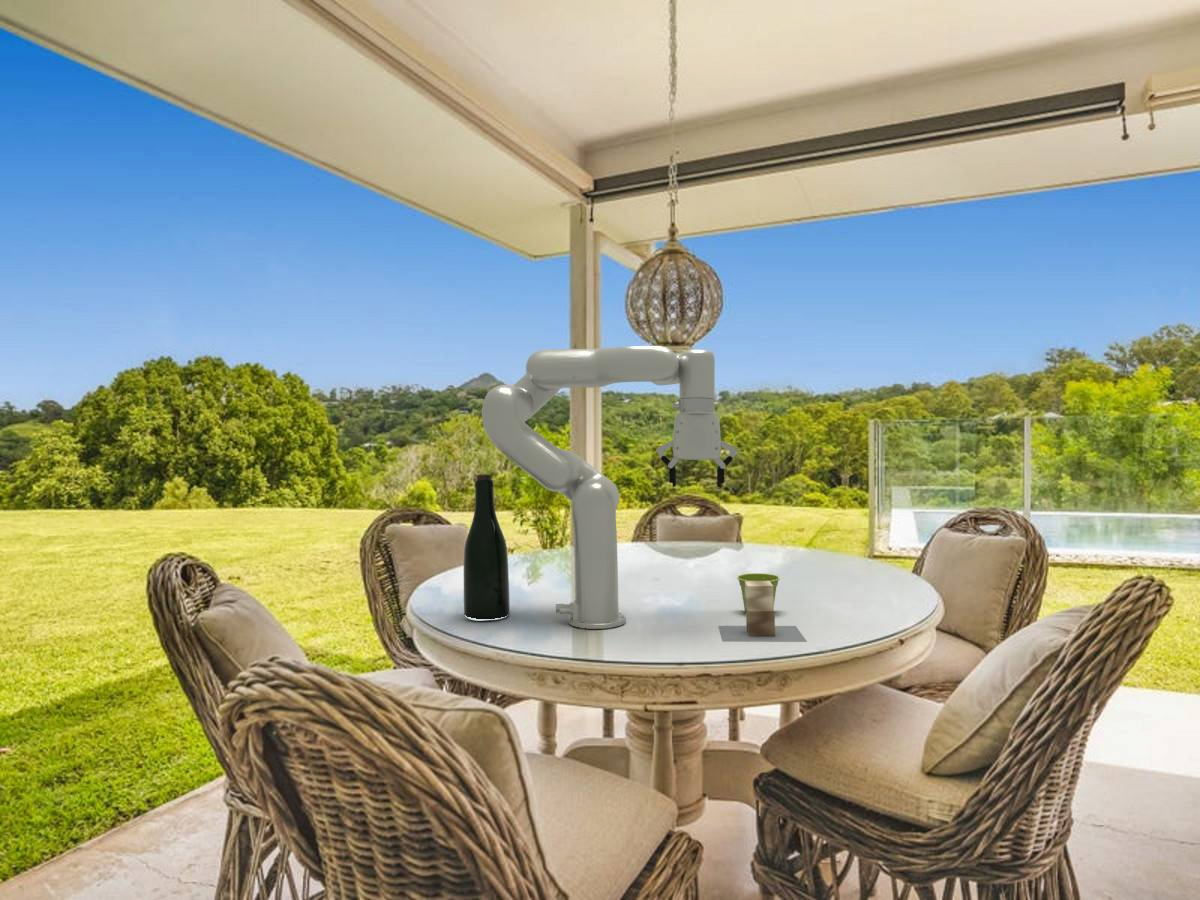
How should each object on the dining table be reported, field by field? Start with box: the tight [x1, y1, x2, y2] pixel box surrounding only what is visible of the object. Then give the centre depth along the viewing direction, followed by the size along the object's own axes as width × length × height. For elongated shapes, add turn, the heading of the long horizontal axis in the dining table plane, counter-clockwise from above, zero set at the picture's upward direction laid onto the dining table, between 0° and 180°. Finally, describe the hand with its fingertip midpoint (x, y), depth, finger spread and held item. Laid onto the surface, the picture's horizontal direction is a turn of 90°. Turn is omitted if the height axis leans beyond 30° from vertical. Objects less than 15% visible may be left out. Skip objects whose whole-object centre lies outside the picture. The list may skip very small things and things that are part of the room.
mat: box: [718, 625, 808, 643], centre depth 145 cm, size 16×12×1 cm
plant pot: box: [736, 572, 781, 614], centre depth 162 cm, size 9×9×9 cm
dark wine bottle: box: [463, 473, 511, 619], centre depth 166 cm, size 10×10×33 cm
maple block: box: [745, 581, 775, 611], centre depth 145 cm, size 5×5×5 cm
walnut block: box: [745, 608, 776, 637], centre depth 145 cm, size 5×5×5 cm
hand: (696, 486), depth 156 cm, fingers open, 9 cm apart
